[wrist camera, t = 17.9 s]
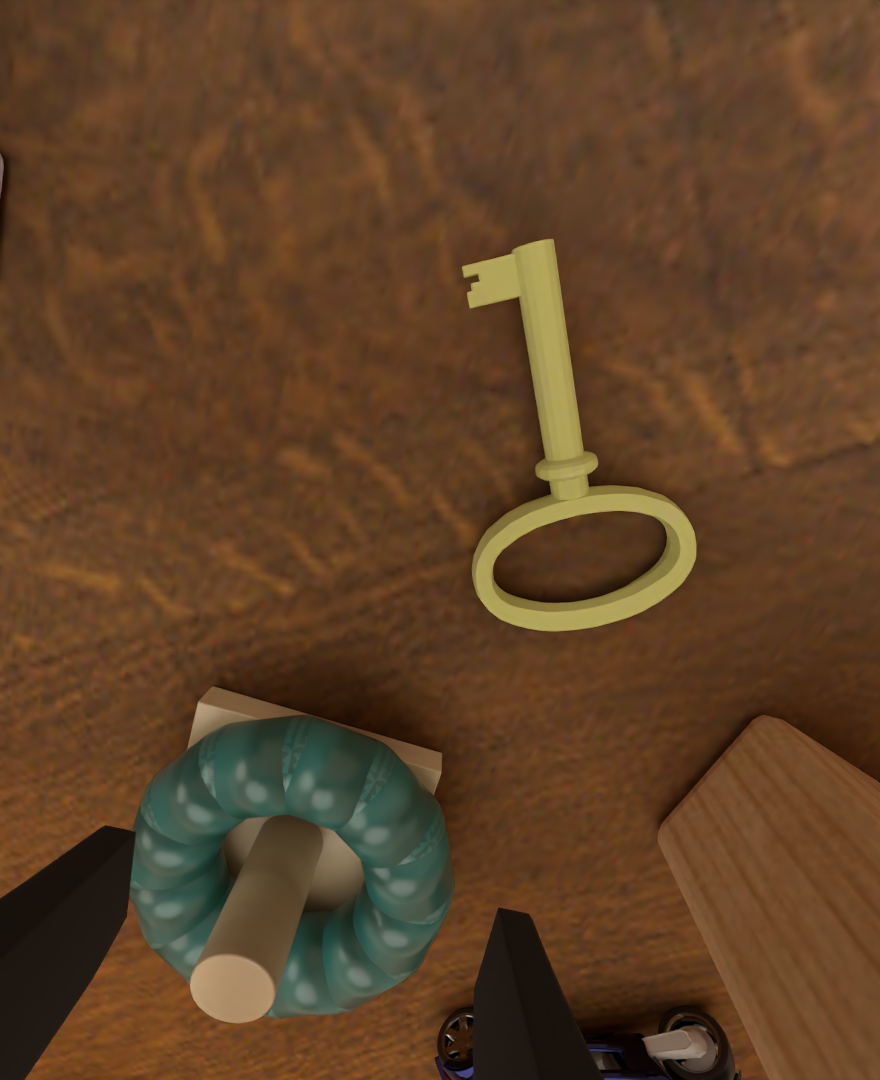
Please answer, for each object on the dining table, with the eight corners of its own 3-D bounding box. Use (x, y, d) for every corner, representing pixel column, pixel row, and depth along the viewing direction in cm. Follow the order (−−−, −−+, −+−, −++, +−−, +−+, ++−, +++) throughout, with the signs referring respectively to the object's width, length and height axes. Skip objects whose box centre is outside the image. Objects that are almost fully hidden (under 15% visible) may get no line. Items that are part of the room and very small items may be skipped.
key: (533, 232, 17) (544, 207, 15) (705, 568, 19) (736, 587, 17) (336, 360, 18) (320, 353, 16) (522, 664, 20) (529, 693, 18)
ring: (125, 899, 21) (72, 976, 18) (203, 655, 19) (157, 699, 16) (390, 991, 22) (380, 1079, 19) (498, 766, 20) (505, 827, 17)
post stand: (168, 877, 23) (49, 1065, 16) (212, 685, 21) (97, 810, 14) (378, 935, 23) (347, 1145, 16) (442, 752, 21) (435, 905, 14)
